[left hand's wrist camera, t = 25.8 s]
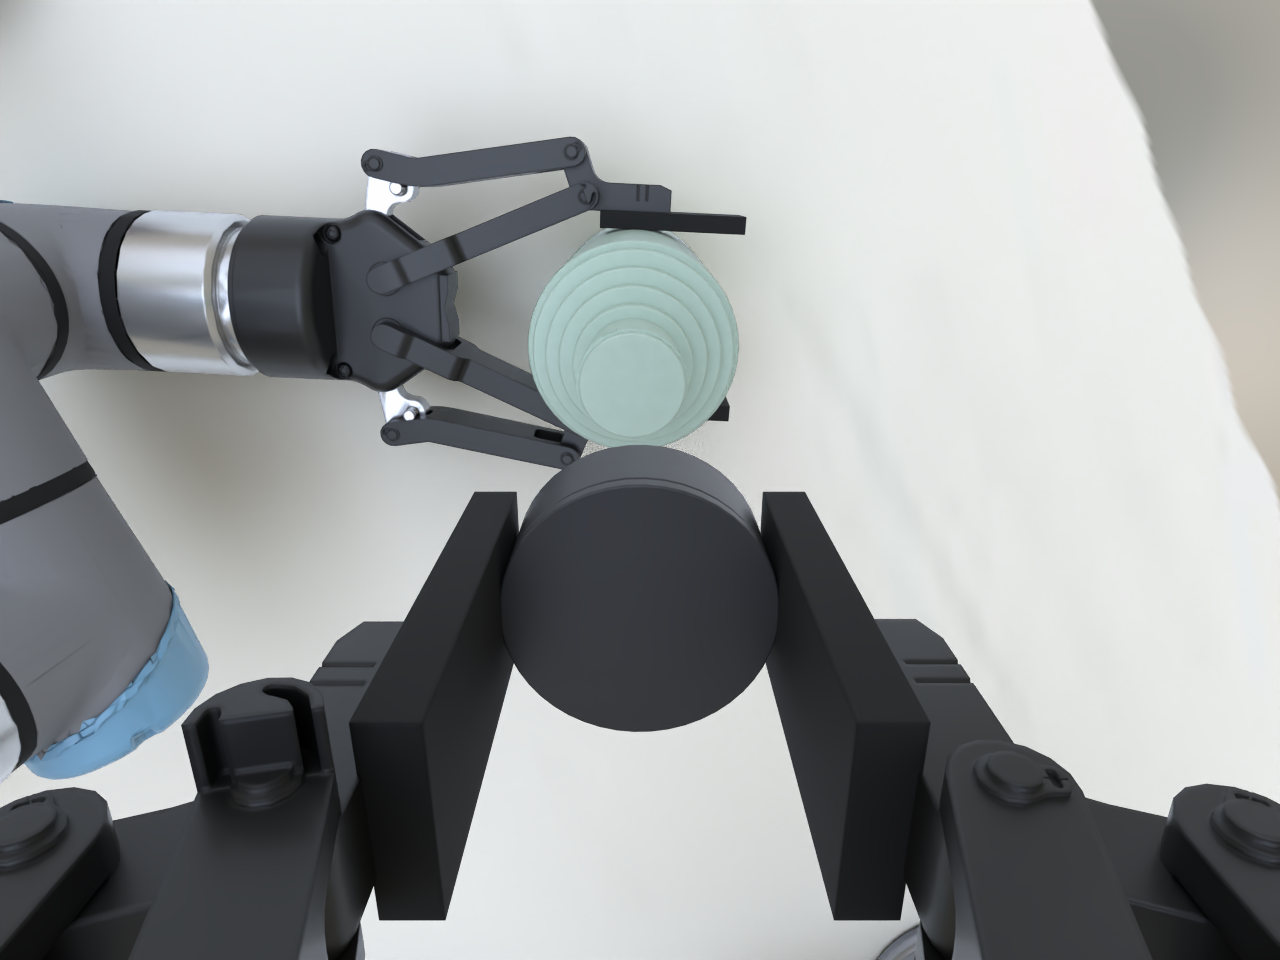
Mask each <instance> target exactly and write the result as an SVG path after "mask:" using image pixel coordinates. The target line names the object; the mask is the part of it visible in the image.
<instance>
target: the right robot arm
mask: <svg viewBox="0 0 1280 960" xmlns="http://www.w3.org/2000/svg"><path fill="white" fill-rule="evenodd" d="M361 166H362V168H363V170H364V172H365V173H366V174H367V175H368V176H369V177H368V187H367V197H366V207H365V210H363V211H360V212H358V213H356V214H355V215H353V216H351V217H349V218H346V219H333V218H311V217H290V216H268V215H260V216H257V217H255V218H253V219H252V220H250V219H248V218H246V217H245V216H243V215H241V214H224V213H204V212H184V211H164V210H153V211H143V210H138V211H124V210H110V209H96V208H83V207H69V206H55V205H35V204H16V203H13V202H10V201H3V200H0V783H2V782H3V781H4V780H5V779H7V778H8V776H9V775H10V774H11V773H12V772H13V771H14V770H16V769H17V768H18V767H19V766H21V765H22V764H25V765H26V766H27V767H28V768H29V770H31V771H32V772H33V773H34V774H36V775H37V776H40V777H43V778H47V779H67V778H73V777H77V776H80V775H84V774H87V773H90V772H92V771H95V770H97V769H99V768H102V767H104V766H106V765H108V764H111V763H113V762H115V761H117V760H119V759H121V758H122V757H124V756H126V755H127V754H129V753H131V752H132V751H134V750H135V749H136V748H137V747H138V746H139V745H140V744H141V743H142V742H143V741H145V740H146V739H148V738H150V737H152V736H153V735H155V734H158V733H161V732H163V731H164V730H165V729H167V728H168V727H169V726H170V725H172V724H173V723H174V722H175V721H176V720H177V719H179V718H180V717H181V716H182V715H183V714H184V713H185V712H186V711H187V710H188V709H189V707H190V706H191V705H192V704H193V703H194V702H195V700H196V699H197V697H198V696H199V694H200V693H201V691H202V689H203V687H204V686H205V683H206V681H207V677H208V670H209V665H208V659H207V656H206V654H205V652H204V650H203V648H202V646H201V644H200V642H199V640H198V638H197V636H196V634H195V633H194V631H193V629H192V627H191V625H190V623H189V621H188V619H187V617H186V615H185V613H184V611H183V610H182V608H181V606H180V602H179V599H178V596H177V594H176V593H175V590H174V588H173V587H172V586H171V585H169V584H168V583H167V581H164V579H163V578H162V576H161V574H160V573H159V571H158V570H157V568H156V567H155V565H154V564H153V562H152V561H151V559H150V558H149V556H148V555H147V553H146V552H145V550H144V548H143V547H142V545H141V544H140V542H139V541H138V539H137V538H136V536H135V535H134V533H133V532H132V530H131V529H130V527H129V526H128V524H127V522H126V521H125V519H124V518H123V516H122V515H121V513H120V512H119V510H118V509H117V507H116V506H115V504H114V503H113V501H112V500H111V498H110V496H109V495H108V493H107V492H106V490H105V489H104V487H103V486H102V484H101V483H100V481H99V480H98V478H97V477H96V476H97V474H95V472H94V470H93V468H92V467H91V465H90V464H89V462H88V461H87V458H86V456H85V455H84V453H83V451H82V450H81V448H80V447H79V445H78V443H77V442H76V440H75V438H74V437H73V435H72V434H71V432H70V430H69V429H68V427H67V426H66V424H65V422H64V421H63V419H62V418H61V416H60V414H59V413H58V411H57V410H56V408H55V406H54V405H53V403H52V402H51V400H50V398H49V397H48V395H47V394H46V392H45V390H44V389H43V387H42V386H41V384H40V382H39V381H38V380H40V379H43V378H47V377H50V376H53V375H56V374H59V373H62V372H65V371H71V370H80V369H112V370H147V371H148V370H150V371H164V372H184V373H201V374H218V375H235V376H250V375H254V374H256V373H258V372H261V373H262V374H264V375H266V376H270V377H285V378H307V379H330V380H351V381H356V382H359V383H361V384H363V385H365V386H367V387H369V388H371V389H372V390H375V391H378V392H379V396H380V400H381V404H382V408H383V412H384V416H385V420H386V424H385V425H384V426H383V427H382V429H381V437H382V440H383V441H384V442H385V443H386V444H388V445H391V446H399V445H407V444H414V443H422V442H433V443H437V444H442V445H447V446H452V447H457V448H461V449H466V450H471V451H476V452H481V453H486V454H490V455H495V456H500V457H505V458H510V459H515V460H519V461H524V462H529V463H534V464H539V465H544V466H548V467H553V468H558V469H564V468H565V467H566V466H568V465H570V464H572V463H573V462H575V461H577V460H578V459H580V457H581V455H582V452H583V450H584V447H585V445H586V443H587V441H588V439H585V438H584V437H582V436H580V435H579V434H577V433H575V432H574V431H572V430H571V429H570V428H569V427H567V426H566V425H565V424H563V423H562V422H561V421H560V420H559V419H558V418H557V417H556V416H555V415H554V413H553V412H552V411H551V410H550V408H549V407H548V406H547V404H546V403H545V401H544V400H543V398H542V396H541V394H540V393H539V391H538V388H537V386H536V384H535V381H534V379H533V375H532V374H530V373H528V372H526V371H524V370H522V369H519V368H517V367H515V366H513V365H511V364H509V363H507V362H505V361H503V360H500V359H498V358H496V357H494V356H492V355H490V354H488V353H486V352H484V351H481V350H480V349H478V348H477V347H476V346H475V345H474V344H472V343H470V342H468V341H466V340H464V339H462V338H460V337H458V335H459V319H458V315H457V312H456V309H455V305H454V300H455V296H456V292H457V287H458V285H457V271H454V269H453V267H452V266H454V265H457V264H459V263H461V262H464V261H466V260H469V259H471V258H474V257H476V256H478V255H481V254H483V253H486V252H488V251H491V250H493V249H496V248H498V247H500V246H503V245H505V244H508V243H510V242H513V241H515V240H518V239H520V238H522V237H525V236H527V235H530V234H532V233H535V232H537V231H540V230H542V229H544V228H547V227H549V226H552V225H554V224H557V223H559V222H562V221H564V220H566V219H569V218H571V217H574V216H576V215H579V214H581V213H583V212H586V211H588V210H595V211H600V228H613V229H634V230H655V231H676V232H697V233H718V234H739V235H745V227H746V217H744V216H740V215H725V214H704V213H683V212H670V208H671V190H669V189H667V188H665V187H663V186H661V185H644V184H624V183H607V182H604V181H602V180H601V179H600V178H598V176H597V175H596V173H595V171H594V169H593V165H592V162H591V159H590V156H589V151H588V148H587V146H586V145H585V144H584V143H583V142H582V141H581V140H579V139H577V138H576V137H564V138H557V139H550V140H543V141H536V142H529V143H521V144H514V145H507V146H500V147H493V148H485V149H478V150H471V151H464V152H457V153H450V154H442V155H435V156H428V157H421V158H417V157H413V156H409V155H405V154H400V153H396V152H392V151H385V150H378V149H370V150H368V151H366V152H365V153H364V154H363V155H362V159H361ZM558 170H564V171H565V174H566V177H567V180H568V183H569V186H570V187H569V188H566V189H564V190H562V191H559V192H557V193H554V194H552V195H549V196H547V197H545V198H542V199H540V200H537V201H535V202H533V203H530V204H528V205H525V206H523V207H521V208H518V209H516V210H513V211H511V212H508V213H506V214H504V215H501V216H499V217H496V218H494V219H492V220H489V221H487V222H484V223H482V224H480V225H477V226H475V227H472V228H470V229H468V230H465V231H463V232H460V233H458V234H455V235H453V236H450V237H448V238H445V239H442V240H440V241H438V242H435V243H433V244H430V243H429V242H428V241H426V240H425V239H424V238H422V237H421V236H420V235H419V234H417V233H416V232H415V231H413V230H412V229H411V228H410V227H408V226H407V225H406V224H404V223H403V222H402V221H400V220H399V219H398V218H397V217H395V216H394V215H393V210H394V208H395V206H396V205H397V204H399V203H401V202H410V201H413V200H414V199H415V198H416V197H417V195H418V193H419V187H438V186H448V185H456V184H463V183H470V182H478V181H485V180H492V179H499V178H507V177H514V176H521V175H528V174H536V173H543V172H550V171H558ZM424 369H427V370H429V371H431V372H433V373H436V374H438V375H440V376H442V377H444V378H447V379H449V380H452V381H460V382H462V383H465V384H467V385H469V386H471V387H473V388H475V389H478V390H480V391H482V392H484V393H486V394H488V395H491V396H493V397H495V398H497V399H499V400H501V401H503V402H506V403H508V404H510V405H512V406H514V407H516V408H518V409H521V410H523V411H525V412H527V413H529V414H531V415H534V416H536V417H538V418H540V419H542V420H544V421H546V422H549V423H551V424H553V425H555V426H557V427H559V428H562V429H564V430H565V431H559V430H555V429H550V428H545V427H540V426H536V425H531V424H526V423H521V422H517V421H512V420H507V419H502V418H498V417H493V416H488V415H484V414H479V413H474V412H469V411H465V410H460V409H455V408H449V407H441V406H431V407H429V404H428V402H427V401H426V400H425V399H424V398H423V397H420V396H414V395H411V394H409V393H408V392H406V390H405V389H404V387H403V384H404V383H405V382H407V381H408V380H410V379H411V378H413V377H414V376H416V375H417V374H418V373H420V372H421V371H423V370H424ZM729 408H730V406H729V404H728V401H727V399H726V396H725V398H724V400H723V401H722V403H721V404H720V406H719V407H718V408H717V410H716V411H715V412H714V413H713V414H712V416H711V417H710V418H709V419H708V420H712V421H728V419H729Z"/></svg>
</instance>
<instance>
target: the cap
mask: <svg viewBox="0 0 1280 960" xmlns="http://www.w3.org/2000/svg"><path fill="white" fill-rule="evenodd" d="M500 597H501V613H502V628H503V638H504V642H505V645H506V647H507V649H508V652H509V654H510V657H511V659H512V660H513V662H514V664H515V665H516V667H517V669H518V671H519V672H520V673H521V675H522V676H523V677H524V679H525V680H526V681H527V682H528V684H529V685H530V686H531V687H532V688H533V689H534V690H535V691H536V692H537V693H538V694H539V695H540V696H541V697H543V698H544V699H545V700H546V701H548V702H549V703H550V704H552V705H553V706H554V707H556V708H558V709H559V710H561V711H563V712H564V713H566V714H568V715H570V716H572V717H574V718H577V719H579V720H581V721H583V722H586V723H589V724H593V725H596V726H599V727H603V728H608V729H613V730H620V731H631V732H648V731H658V730H666V729H671V728H675V727H680V726H684V725H687V724H690V723H692V722H695V721H698V720H701V719H703V718H705V717H707V716H709V715H711V714H713V713H715V712H717V711H718V710H720V709H721V708H723V707H724V706H726V705H727V704H729V703H730V702H731V701H733V700H734V699H735V698H736V697H737V696H739V695H740V694H741V693H742V692H743V691H744V690H745V689H746V688H747V687H748V686H749V685H750V683H751V682H752V681H753V680H754V679H755V677H756V676H757V675H758V673H759V672H760V670H761V669H762V668H763V666H764V664H765V662H766V660H767V658H768V656H769V654H770V652H771V650H772V647H773V644H774V641H775V638H776V632H777V619H778V604H779V590H778V585H777V581H776V577H775V574H774V570H773V568H772V565H771V562H770V559H769V556H768V553H767V551H766V548H765V545H764V542H763V539H762V536H761V534H760V531H759V528H758V525H757V522H756V520H755V518H754V515H753V513H752V511H751V508H750V507H749V505H748V503H747V502H746V500H745V499H744V497H743V495H742V494H741V493H740V492H739V490H738V489H737V488H736V487H735V486H734V484H733V483H732V482H731V481H730V480H728V479H727V478H726V477H725V476H724V475H723V474H722V473H721V472H719V471H718V470H717V469H715V468H714V467H712V466H711V465H709V464H708V463H706V462H704V461H702V460H700V459H698V458H697V457H695V456H692V455H690V454H687V453H684V452H681V451H679V450H675V449H671V448H666V447H662V446H653V445H625V446H619V447H612V448H608V449H604V450H601V451H597V452H594V453H592V454H590V455H587V456H585V457H582V458H580V459H578V460H577V461H575V462H573V463H572V464H570V465H568V466H566V467H565V468H564V469H562V470H561V471H560V472H559V473H557V474H556V475H555V476H553V477H552V478H551V479H550V480H549V482H548V483H547V484H546V485H545V486H544V487H543V488H542V489H541V490H540V492H539V493H538V494H537V496H536V497H535V498H534V500H533V501H532V503H531V505H530V507H529V509H528V511H527V513H526V515H525V517H524V520H523V523H522V526H521V528H520V531H519V534H518V537H517V540H516V543H515V546H514V548H513V551H512V554H511V557H510V560H509V563H508V566H507V568H506V571H505V574H504V577H503V581H502V586H501V591H500Z"/></svg>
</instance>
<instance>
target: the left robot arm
mask: <svg viewBox="0 0 1280 960" xmlns="http://www.w3.org/2000/svg"><path fill="white" fill-rule="evenodd" d="M518 534H519V525H518V508H517V492H474V494H473V496H472V498H471V500H470V501H469V503H468V505H467V507H466V509H465V511H464V512H463V514H462V516H461V518H460V520H459V522H458V523H457V525H456V527H455V529H454V531H453V533H452V534H451V536H450V538H449V540H448V542H447V543H446V545H445V547H444V549H443V551H442V553H441V554H440V556H439V558H438V560H437V562H436V564H435V565H434V567H433V569H432V571H431V573H430V575H429V576H428V578H427V580H426V582H425V584H424V586H423V587H422V589H421V591H420V593H419V595H418V597H417V598H416V600H415V602H414V604H413V606H412V608H411V609H410V611H409V613H408V615H407V617H406V619H405V620H404V622H363V623H361V624H360V625H358V626H357V627H356V628H354V629H353V630H351V631H350V632H349V633H347V634H346V635H344V636H343V637H341V638H340V639H339V640H337V641H336V643H335V644H334V646H333V647H332V649H331V650H330V652H329V653H328V655H327V656H326V658H325V659H324V661H323V662H322V667H319V668H318V670H317V671H316V673H315V674H314V676H313V677H312V679H311V680H310V682H307V681H303V680H299V679H295V678H265V679H261V680H256V681H252V682H247V683H243V684H239V685H237V686H235V687H232V688H230V689H227V690H225V691H223V692H220V693H218V694H215V695H214V696H213V697H211V698H210V699H208V700H207V701H205V702H204V703H202V704H201V705H199V706H198V707H196V708H195V709H194V710H193V711H192V712H191V714H190V715H189V716H188V717H187V719H186V720H185V721H184V722H183V723H182V725H181V726H182V730H183V734H184V738H185V743H186V747H187V751H188V755H189V759H190V763H191V767H192V771H193V775H194V779H195V783H196V788H197V792H198V793H197V795H196V797H195V800H194V801H193V802H189V803H186V804H182V805H179V806H175V807H172V808H168V809H163V810H159V811H154V812H150V813H145V814H141V815H136V816H132V817H127V818H123V819H118V820H114V821H112V817H111V814H110V811H109V807H108V804H107V801H106V800H105V799H103V798H102V797H101V796H100V795H99V794H98V793H97V792H96V791H92V790H86V789H81V788H75V787H72V788H64V789H55V790H47V791H43V792H40V793H37V794H33V795H31V796H26V797H24V798H21V799H18V800H15V801H13V802H11V803H9V804H7V805H5V806H3V807H1V808H0V960H365V950H364V942H363V935H362V929H361V923H360V920H361V918H362V915H363V912H364V910H365V907H366V905H367V902H368V899H369V897H370V894H371V891H372V889H373V886H374V889H375V896H376V902H377V909H378V915H379V920H446V916H447V912H448V909H449V905H450V901H451V897H452V894H453V890H454V886H455V882H456V878H457V875H458V871H459V867H460V863H461V860H462V856H463V852H464V848H465V845H466V841H467V837H468V833H469V830H470V826H471V822H472V818H473V815H474V811H475V807H476V803H477V799H478V796H479V792H480V788H481V784H482V781H483V777H484V773H485V769H486V766H487V762H488V758H489V754H490V751H491V747H492V743H493V739H494V735H495V732H496V728H497V724H498V720H499V717H500V713H501V709H502V705H503V702H504V698H505V694H506V690H507V687H508V683H509V679H510V675H511V671H512V668H513V664H514V662H513V660H512V659H511V657H510V654H509V652H508V649H507V647H506V645H505V642H504V638H503V628H502V613H501V597H500V591H501V586H502V581H503V577H504V574H505V571H506V568H507V566H508V563H509V560H510V557H511V554H512V551H513V548H514V546H515V543H516V540H517V537H518ZM760 534H761V536H762V539H763V542H764V545H765V548H766V551H767V553H768V556H769V559H770V562H771V565H772V568H773V570H774V574H775V577H776V581H777V585H778V590H779V604H778V619H777V632H776V638H775V641H774V644H773V647H772V650H771V652H770V654H769V656H768V658H767V660H766V666H767V670H768V673H769V677H770V681H771V685H772V688H773V692H774V696H775V700H776V704H777V707H778V711H779V715H780V719H781V722H782V726H783V730H784V734H785V737H786V741H787V745H788V749H789V752H790V756H791V760H792V764H793V768H794V771H795V775H796V779H797V783H798V786H799V790H800V794H801V798H802V801H803V805H804V809H805V813H806V816H807V820H808V824H809V828H810V832H811V835H812V839H813V843H814V847H815V850H816V854H817V858H818V862H819V865H820V869H821V873H822V877H823V881H824V884H825V888H826V892H827V896H828V899H829V903H830V907H831V911H832V914H833V918H834V920H900V918H901V912H902V905H903V899H904V892H905V886H906V884H907V886H908V889H909V892H910V894H911V897H912V899H913V902H914V905H915V907H916V910H917V912H918V915H919V918H920V923H919V926H918V927H916V928H915V929H913V930H911V931H909V932H907V933H906V934H904V935H902V936H901V937H900V938H898V939H897V940H896V941H894V942H893V943H892V944H891V945H890V946H889V947H888V948H887V949H886V950H885V951H884V952H883V953H882V954H881V955H880V957H879V958H878V959H877V960H1280V804H1278V803H1277V802H1275V801H1273V800H1271V799H1269V798H1267V797H1264V796H1261V795H1258V794H1256V793H1253V792H1252V793H1251V792H1248V791H1246V790H1242V789H1239V788H1236V787H1230V786H1221V785H1213V784H1202V785H1197V786H1191V787H1185V788H1184V789H1183V790H1182V791H1181V792H1180V793H1178V794H1177V795H1176V796H1175V797H1174V798H1173V801H1172V805H1171V808H1170V812H1169V815H1168V817H1163V816H1159V815H1154V814H1150V813H1145V812H1141V811H1136V810H1132V809H1127V808H1123V807H1118V806H1114V805H1109V804H1106V803H1102V802H1099V801H1095V800H1092V799H1088V798H1085V796H1084V794H1083V791H1082V790H1081V788H1080V787H1079V786H1078V784H1077V783H1076V781H1075V780H1074V778H1073V777H1072V776H1071V774H1070V773H1069V772H1067V771H1066V770H1065V769H1064V768H1062V767H1061V766H1060V765H1058V764H1057V763H1056V762H1055V761H1053V760H1052V759H1051V758H1049V757H1047V756H1045V755H1043V754H1040V753H1038V752H1036V751H1034V750H1032V749H1030V748H1028V747H1025V746H1021V745H1017V744H1014V743H1013V741H1012V740H1011V738H1010V737H1009V735H1008V734H1007V732H1006V731H1005V729H1004V728H1003V726H1002V725H1001V723H1000V722H999V721H998V719H997V718H996V716H995V715H994V713H993V712H992V710H991V709H990V707H989V706H988V704H987V703H986V701H985V700H984V698H983V697H982V695H981V694H980V692H979V691H978V689H977V688H976V686H975V685H974V684H973V683H970V678H969V676H968V675H967V673H966V672H965V670H964V669H963V667H962V666H961V664H958V660H957V658H956V657H955V655H954V654H953V652H952V651H951V649H950V648H949V647H948V645H947V644H946V642H945V641H944V639H943V638H942V637H941V636H939V635H938V634H936V633H935V632H933V631H932V630H931V629H929V628H928V627H926V626H925V625H923V624H922V623H921V622H919V621H918V620H916V619H874V618H873V616H872V614H871V612H870V610H869V609H868V607H867V605H866V603H865V601H864V599H863V598H862V596H861V594H860V592H859V590H858V588H857V587H856V585H855V583H854V581H853V579H852V577H851V576H850V574H849V572H848V570H847V568H846V567H845V565H844V563H843V561H842V559H841V557H840V556H839V554H838V552H837V550H836V548H835V546H834V545H833V543H832V541H831V539H830V537H829V535H828V534H827V532H826V530H825V528H824V526H823V524H822V523H821V521H820V519H819V517H818V515H817V513H816V512H815V510H814V508H813V506H812V504H811V502H810V501H809V499H808V497H807V495H806V493H805V492H763V499H762V516H761V533H760Z"/></svg>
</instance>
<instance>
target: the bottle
mask: <svg viewBox="0 0 1280 960" xmlns="http://www.w3.org/2000/svg"><path fill="white" fill-rule="evenodd" d="M738 351H739V340H738V330H737V324H736V319H735V316H734V313H733V310H732V307H731V305H730V303H729V300H728V298H727V296H726V294H725V293H724V291H723V289H722V288H721V286H720V285H719V283H718V282H717V281H716V279H715V278H714V277H713V276H712V275H711V273H710V272H709V271H708V270H707V269H706V267H705V266H704V265H703V264H702V263H701V261H700V260H699V259H698V258H697V256H696V255H695V254H694V253H693V252H692V250H691V249H690V248H689V247H688V246H687V245H686V243H684V242H683V241H682V240H681V239H680V238H679V237H678V236H676V235H675V234H673V233H672V232H670V231H655V230H634V229H613V228H606V229H604V230H602V231H600V232H598V233H597V234H595V235H594V236H593V237H591V238H590V239H589V240H588V241H587V242H586V243H585V244H584V245H583V246H582V247H581V248H580V249H579V250H578V251H577V252H576V253H575V254H574V255H573V256H572V257H571V258H570V259H569V260H568V261H567V262H566V263H565V265H564V266H563V267H562V268H561V269H560V270H559V271H558V272H557V273H556V274H555V275H554V276H553V278H552V279H551V280H550V281H549V283H548V284H547V285H546V287H545V288H544V290H543V292H542V294H541V295H540V297H539V299H538V301H537V304H536V306H535V309H534V311H533V314H532V318H531V322H530V327H529V335H528V355H529V362H530V368H531V371H532V375H533V379H534V381H535V384H536V386H537V388H538V391H539V393H540V394H541V396H542V398H543V400H544V401H545V403H546V404H547V406H548V407H549V408H550V410H551V411H552V412H553V413H554V415H555V416H556V417H557V418H558V419H559V420H560V421H561V422H562V423H563V424H565V425H566V426H567V427H569V428H570V429H571V430H572V431H574V432H575V433H577V434H579V435H580V436H582V437H584V438H585V439H588V440H590V441H592V442H595V443H597V444H600V445H603V446H607V447H611V448H612V447H619V446H625V445H653V446H664V445H667V444H670V443H673V442H675V441H677V440H679V439H681V438H683V437H685V436H687V435H689V434H690V433H692V432H693V431H695V430H696V429H698V428H699V427H700V426H701V425H702V424H703V423H705V422H706V421H707V420H708V419H709V418H710V417H711V416H712V414H713V413H714V412H715V411H716V410H717V408H718V407H719V406H720V404H721V403H722V401H723V400H724V398H725V396H726V394H727V392H728V390H729V388H730V386H731V383H732V381H733V378H734V375H735V371H736V366H737V362H738Z"/></svg>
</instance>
